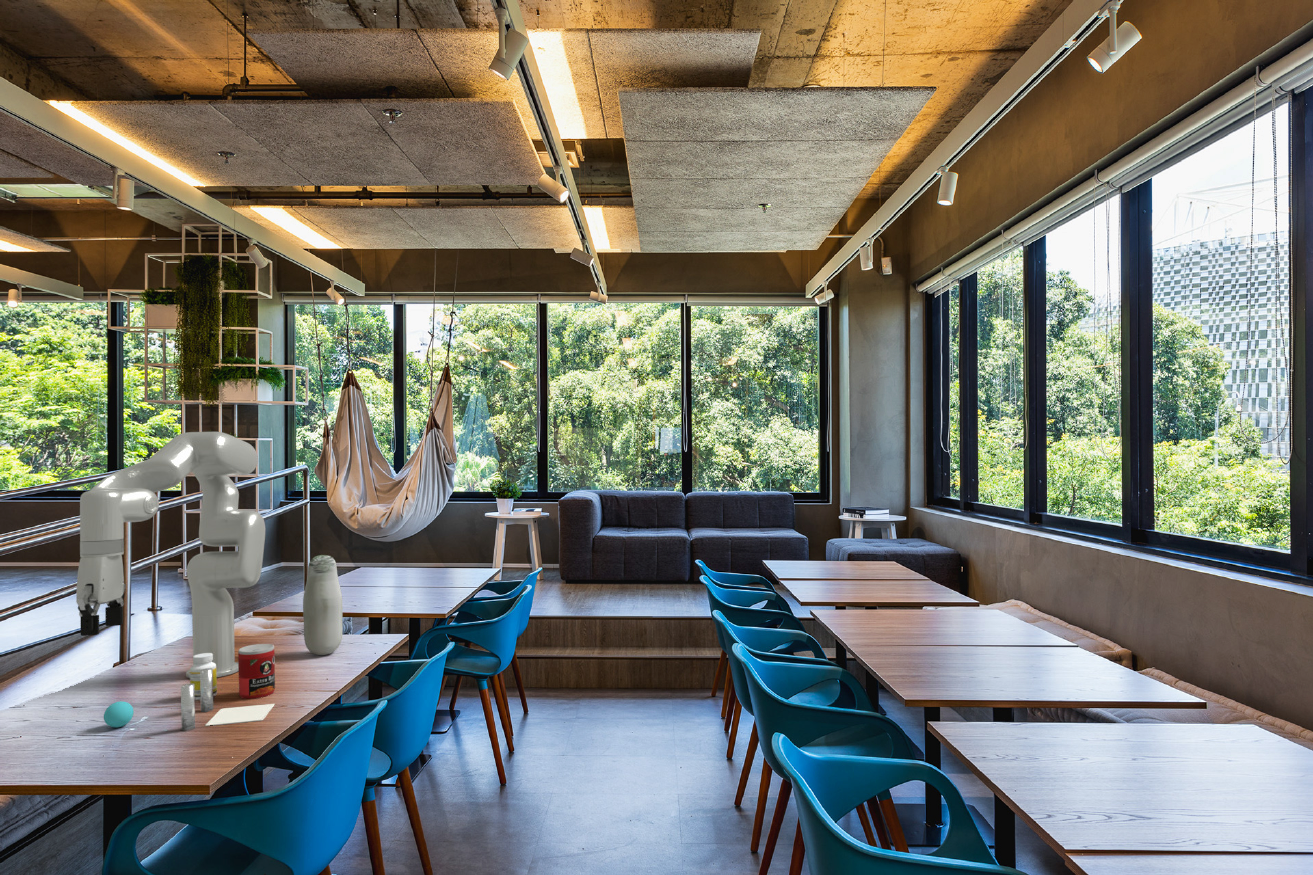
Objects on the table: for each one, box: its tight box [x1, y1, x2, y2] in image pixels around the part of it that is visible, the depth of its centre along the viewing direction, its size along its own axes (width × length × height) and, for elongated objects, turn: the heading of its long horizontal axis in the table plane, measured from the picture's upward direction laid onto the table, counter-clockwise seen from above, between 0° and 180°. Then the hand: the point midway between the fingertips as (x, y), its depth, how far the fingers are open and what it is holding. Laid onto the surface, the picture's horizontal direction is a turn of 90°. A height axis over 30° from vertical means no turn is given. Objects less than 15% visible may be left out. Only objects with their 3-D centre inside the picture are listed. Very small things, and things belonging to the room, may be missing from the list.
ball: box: [103, 700, 135, 728], centre depth 164 cm, size 5×5×5 cm
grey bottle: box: [302, 554, 343, 656], centre depth 221 cm, size 10×10×28 cm
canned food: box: [237, 643, 276, 700], centre depth 185 cm, size 8×8×11 cm
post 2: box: [200, 668, 214, 713], centre depth 174 cm, size 2×2×9 cm
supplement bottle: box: [189, 653, 218, 701], centre depth 184 cm, size 5×5×10 cm
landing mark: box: [205, 703, 275, 727], centre depth 170 cm, size 11×11×1 cm
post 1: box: [180, 683, 196, 732], centre depth 162 cm, size 2×2×9 cm
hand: (102, 630), depth 164 cm, fingers open, 9 cm apart
